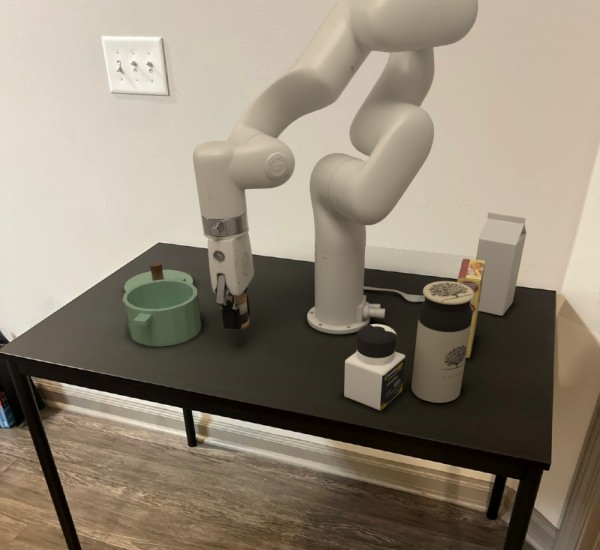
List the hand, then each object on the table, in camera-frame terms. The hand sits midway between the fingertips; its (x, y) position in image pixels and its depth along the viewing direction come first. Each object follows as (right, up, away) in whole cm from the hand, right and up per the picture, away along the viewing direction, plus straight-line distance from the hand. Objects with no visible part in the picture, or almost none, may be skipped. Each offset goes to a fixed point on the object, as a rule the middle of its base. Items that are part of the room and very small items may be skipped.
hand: (237, 320), depth 110 cm
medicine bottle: (+24, -14, -10) cm, 29 cm away
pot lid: (-20, +11, +26) cm, 35 cm away
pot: (-15, 0, +10) cm, 18 cm away
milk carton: (+51, +5, +16) cm, 54 cm away
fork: (+30, +8, +22) cm, 38 cm away
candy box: (+41, -5, +3) cm, 42 cm away
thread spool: (0, -1, 0) cm, 1 cm away
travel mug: (+34, -13, -9) cm, 38 cm away
